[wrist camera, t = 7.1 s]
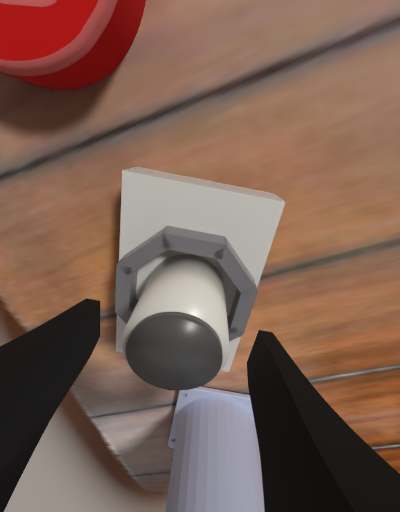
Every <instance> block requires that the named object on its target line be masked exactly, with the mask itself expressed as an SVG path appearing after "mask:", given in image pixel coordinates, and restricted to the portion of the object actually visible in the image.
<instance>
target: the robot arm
mask: <svg viewBox="0 0 400 512" xmlns="http://www.w3.org/2000/svg"><path fill="white" fill-rule="evenodd" d="M99 337H100V301H97V300H92V299H85V300H83V301H81V302H80V303H78V304H76V305H75V306H73V307H71V308H70V309H68V310H66V311H65V312H63V313H61V314H60V315H58V316H56V317H54V318H53V319H51V320H49V321H47V322H46V323H44V324H42V325H41V326H39V327H37V328H35V329H33V330H31V331H29V332H27V333H26V334H24V335H22V336H20V337H18V338H16V339H14V340H12V341H10V342H8V343H6V344H4V345H2V346H0V512H4V510H5V508H6V506H7V504H8V501H9V499H10V497H11V495H12V493H13V491H14V489H15V487H16V485H17V483H18V481H19V479H20V477H21V475H22V473H23V471H24V469H25V467H26V465H27V463H28V461H29V459H30V457H31V455H32V453H33V451H34V449H35V448H36V446H37V444H38V442H39V440H40V438H41V436H42V434H43V433H44V431H45V429H46V427H47V425H48V423H49V421H50V419H51V418H52V416H53V414H54V413H55V411H56V409H57V408H58V406H59V405H60V403H61V402H62V400H63V398H64V397H65V395H66V394H67V392H68V391H69V389H70V388H71V386H72V385H73V383H74V381H75V380H76V378H77V377H78V375H79V374H80V372H81V370H82V369H83V367H84V366H85V364H86V363H87V361H88V359H89V358H90V356H91V354H92V352H93V350H94V348H95V346H96V344H97V341H98V339H99ZM247 372H248V387H249V393H250V395H247V394H241V393H235V392H230V391H224V390H218V389H213V388H207V387H201V386H200V387H198V388H194V389H189V390H179V394H178V398H177V403H176V408H175V412H174V417H173V422H172V426H171V431H170V436H169V440H168V446H169V447H170V448H172V449H174V452H173V459H172V466H171V474H170V481H169V488H168V496H167V503H166V511H165V512H400V474H399V473H398V472H397V471H396V470H395V469H393V468H392V467H391V466H390V465H389V464H388V463H387V462H386V461H385V460H383V459H382V458H381V457H380V456H379V455H378V454H377V453H376V452H375V451H374V450H373V449H372V448H371V447H370V446H369V445H368V444H367V443H365V442H364V441H363V440H362V439H361V438H360V437H359V436H358V435H357V434H356V433H355V432H354V431H353V430H352V429H351V428H350V427H349V426H348V425H347V424H346V423H345V422H344V420H343V419H342V418H341V417H340V416H339V415H338V414H337V413H336V412H335V411H334V410H333V409H332V408H331V407H330V406H329V404H328V403H327V402H326V401H325V400H324V399H323V398H322V396H321V395H320V394H319V393H318V392H317V390H316V389H315V388H314V387H313V386H312V385H311V383H310V382H309V381H308V380H307V378H306V377H305V376H304V374H303V373H302V372H301V371H300V369H299V368H298V367H297V365H296V364H295V363H294V361H293V360H292V359H291V357H290V356H289V355H288V353H287V352H286V351H285V349H284V348H283V346H282V345H281V344H280V342H279V341H278V340H277V338H276V337H275V335H274V334H273V333H272V332H267V331H261V330H259V331H258V334H257V337H256V340H255V342H254V345H253V348H252V350H251V353H250V356H249V359H248V361H247Z"/></svg>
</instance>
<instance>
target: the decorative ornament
mask: <svg viewBox="0 0 400 512" xmlns="http://www.w3.org/2000/svg"><path fill="white" fill-rule="evenodd" d="M145 2H146V0H0V72H2V73H5V74H8V75H10V76H13V77H16V78H18V79H21V80H24V81H27V82H29V83H32V84H35V85H38V86H41V87H44V88H49V89H56V90H70V89H77V88H82V87H86V86H89V85H91V84H94V83H96V82H98V81H100V80H101V79H103V78H105V77H106V76H108V75H109V74H110V73H111V72H112V71H113V70H114V69H115V68H116V67H117V66H118V64H119V63H120V62H121V60H122V59H123V57H124V56H125V55H126V53H127V52H128V50H129V49H130V47H131V45H132V43H133V41H134V39H135V36H136V34H137V31H138V28H139V26H140V22H141V19H142V16H143V11H144V7H145Z"/></svg>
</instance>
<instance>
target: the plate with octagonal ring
mask: <svg viewBox="0 0 400 512" xmlns="http://www.w3.org/2000/svg"><path fill="white" fill-rule="evenodd" d="M284 205H285V201H283V200H282V199H281V198H279V197H278V196H277V195H275V194H274V193H269V192H264V191H259V190H254V189H249V188H244V187H238V186H233V185H228V184H223V183H218V182H213V181H208V180H203V179H197V178H192V177H187V176H182V175H177V174H172V173H167V172H162V171H157V170H151V169H146V168H141V167H135V168H131V169H126V170H122V194H121V221H120V247H119V262H118V263H117V265H116V290H115V313H116V314H117V327H116V352H120V353H123V349H122V335H123V331H124V329H125V327H126V325H127V323H128V321H129V319H130V317H131V315H132V313H133V311H134V309H135V307H136V305H137V303H138V301H139V299H140V296H141V294H142V292H143V290H144V288H145V286H146V284H147V282H148V280H149V278H150V276H151V274H152V272H153V270H154V269H155V267H156V266H157V265H158V264H159V263H161V262H162V261H163V260H165V259H167V258H169V257H171V256H175V255H181V254H188V255H194V256H198V257H201V258H203V259H205V260H207V261H209V262H210V263H211V264H213V265H214V266H215V267H216V268H217V270H218V271H219V272H220V274H221V276H222V278H223V282H224V289H225V300H226V312H227V323H228V334H229V345H230V353H229V358H228V361H227V363H226V365H225V367H224V368H223V369H222V370H221V371H227V372H229V370H230V367H231V364H232V361H233V358H234V355H235V352H236V349H237V346H238V343H239V340H240V337H241V336H242V335H243V334H244V331H245V328H246V325H247V322H248V319H249V316H250V313H251V310H252V307H253V304H254V301H255V298H256V295H257V292H258V291H257V286H258V283H259V280H260V277H261V274H262V271H263V268H264V265H265V262H266V259H267V256H268V253H269V250H270V247H271V244H272V241H273V238H274V235H275V232H276V229H277V226H278V223H279V220H280V217H281V214H282V211H283V208H284Z"/></svg>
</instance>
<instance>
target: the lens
mask: <svg viewBox="0 0 400 512" xmlns="http://www.w3.org/2000/svg"><path fill="white" fill-rule="evenodd" d="M122 349H123V353H124V355H125V358H126V359H127V361H128V363H129V365H130V367H131V369H132V370H133V371H134V372H135V373H136V374H137V375H138V376H139V377H140V378H141V379H143V380H144V381H146V382H148V383H149V384H151V385H154V386H156V387H159V388H163V389H168V390H189V389H194V388H198V387H200V386H203V385H204V384H206V383H208V382H209V381H211V380H212V379H213V378H214V377H215V376H216V375H217V374H218V373H220V372H221V370H222V369H223V368H224V367H225V365H226V363H227V361H228V358H229V353H230V345H229V334H228V323H227V312H226V300H225V289H224V282H223V278H222V276H221V274H220V272H219V271H218V270H217V268H216V267H215V266H214V265H213V264H211V263H210V262H209V261H207V260H205V259H203V258H201V257H198V256H194V255H188V254H181V255H175V256H171V257H169V258H167V259H165V260H163V261H162V262H161V263H159V264H158V265H157V266H156V267H155V269H154V270H153V272H152V274H151V276H150V278H149V280H148V282H147V284H146V286H145V288H144V290H143V292H142V294H141V296H140V299H139V301H138V303H137V305H136V307H135V309H134V311H133V313H132V315H131V317H130V319H129V321H128V323H127V325H126V327H125V329H124V331H123V335H122Z"/></svg>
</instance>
